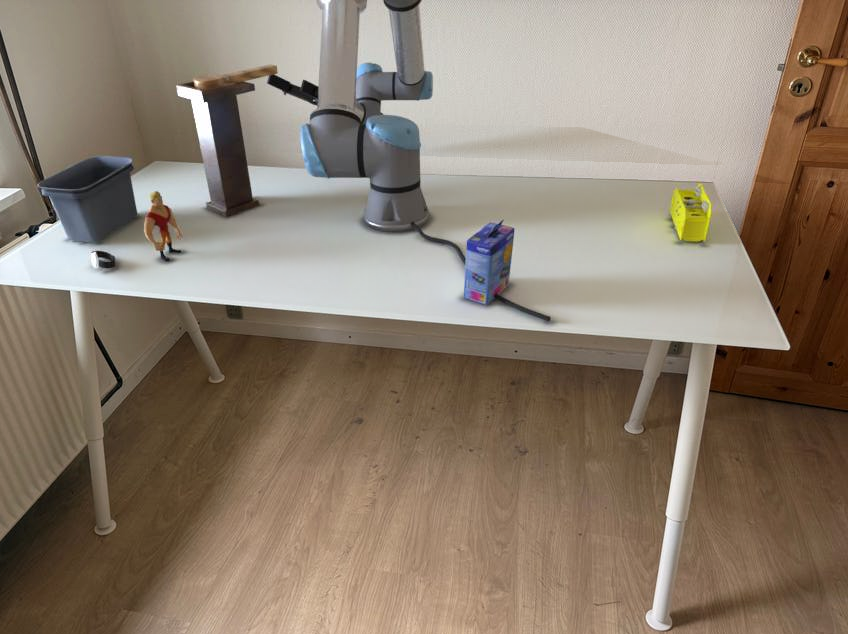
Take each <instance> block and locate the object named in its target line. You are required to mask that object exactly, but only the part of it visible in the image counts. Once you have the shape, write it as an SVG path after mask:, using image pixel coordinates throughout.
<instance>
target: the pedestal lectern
mask: <svg viewBox="0 0 848 634" xmlns="http://www.w3.org/2000/svg"><path fill="white" fill-rule="evenodd" d="M175 86H176V93H177V96H178V97H181V98H185V99H188V100H191V106H192V111H193V117H194V122H195V126H196V132H197V137H198V143H199V148H200V152H201V157H202V163H203V168H204V173H205V177H206V183H207V188H208V193H209V199H210V201H208V202H205V207H206V209H207V210H209V211H212V212H213V213H216V214H219V215H221V216H223V217H225V218H228V217H231V216H234V215H236V214H240V213H242V212H245V211H249V210H251V209H253V208H256V207H259V206H260V200H259V199H258V198H254V197H253V192H252V186H251V185H252V184H251V179H250V172H249V166H248V160H247V154H246V148H245V141H244V134H243V128H242V127H243V126H242V122H241V115H240V110H239V109H240V108H239V103H238V95H242V94H247V93H251V92H255V91H256V86H255V83H252V82H249V81H243V82H239V83H230V84H226V85H221V86H217V87H213V88H208V89H204V90H201V89H197V88H195V86H194V80H192V81H187V82H181V83H177V84H176V85H175Z"/></svg>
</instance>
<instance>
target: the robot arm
mask: <svg viewBox="0 0 848 634" xmlns="http://www.w3.org/2000/svg"><path fill="white" fill-rule="evenodd" d="M382 1H383V4H384V6H385V7H386V9H387V10H388V15H389V16H388V17H389V22H390V28H391V29H390V30H391V36H392V37H391V38H392V43H393V51H394V60H395V65H396V71H383V68H382V65H380V64H378V63H372V62H363V63H361V64H359V65H358V55H359V38H360V19H361V18H360V17H361V14H362V13H363V12H365V11H366V9H367V5H368V0H316V5H317V7H318V8H319V9H320V10H321V12H322V14H321V31H320V32H321V33H320V49H319V50H320V51H319V66H318V67H319V68H318V85H316V84H314V83H312V82H310V81H308V80H306V79H302V82H301V84H300V86H298V85H296V84H294V83H291V81H288V80H287V79H284V78H282V77H280V76H279V75H277V74H274V75H269V76H267V81H266V84H267V85H268V86H271V87H274V88H276V89H277V90H280V91H281V92H282V93H283V95H284V96H286V95H289V96H292V97H295V98H297V99H300V100H302V101H305V102H307V103H309V104H311V105H312V106H316V107H317V108H316V109H314V110H313V111H312V112H311V113H310V115H309V123H305V124H302V125H301V127H300V134H299V137H300V138H299V139H300V149H301V154H302V159H303V163H304V166H305V168H306V171H307V172H308V173H309V175H310V176H312V177H313V178H323V179H324V178H325V179H338V178H339V179H366V178H367V179H369V185H370V186H369V188H370V189H369V193H368V198H367V201H366V206H365V209H364V211H363V220H364V224H365V225H366V226H367V227H368V228H370V229H372V230H375V231H379V232H384V233H402V232H410V231H414V230H416V232H417V233H418V234H419V236H421V237H422V238H424V239H425V240H427V241H430V242H434V243H438V244H444V245H448V246H449V247H452V248H453V249H454V250H455V251H456V252H457V254H458V256H459V259H460V260H461V261H462V263H463V264H464V265H465V264H466V255H465V254H464V253H463V251H462V249H461V248H460V246H459V245H458V244H456V243H454V242H453V241H451V240H448V239H443V238H438V237H434V236H430V235H428V234H425V232H424V231H423V229H421V228H422V227H423V226H425V225H426V224H427V223H428V222H429V219H430V218H429V217H430V215H429V214H430V213H429V208H428V206H427V202H426V199H425V196H424V193H423V190H422V187H421V147H422V143H421V138H420V136H421V135H420V128H419V126H418V125H417V123H415V122H414V121H413V120H411V119H410V118H407V117H403V116H400V115H394V114H384V113H383V112H382V111H381V110H382V101H417V102H418V101H425V100H426V101H427V100H430V99H432V98H433V94H434V93H433V92H434V75H433V72H432V71H429V70H428V71H427V70H426V69H425V61H424V60H425V58H424V46H423V33H422V20H421V8H420V5H421V3H422V1H423V0H382ZM494 297H495V298H494V299H496V300H498V302H499V301H500V302H501V303H502V304H505V305H507V306H509V307H511V308H514V309H515V310H517V311H520V312H522V313H525V314H526V315H530V316H532V317H535V318H538V319H540V320H543V321H546V322H550V321H551V319H552V318H551V316H548V315H546V314H544V313H541V312H539V311H535V310H533V309H530V308H528V307H525V306H523V305H520V304H518V303H516V302H513V301H511V300H510V299H507V298H505V297H503V296H502V295H500V294H499V295H498V294H497V293H496V294H495V296H494Z"/></svg>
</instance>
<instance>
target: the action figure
mask: <svg viewBox="0 0 848 634" xmlns="http://www.w3.org/2000/svg"><path fill="white" fill-rule="evenodd" d="M148 197H149V199H150V203H151V206H150V207H149V209H148V212H147V214H146V215H145V219H144V229H143V231H144V235H145V237H146V238H147V240H148V241H149V242H150V243H151V244H152V245H153V248H154V250H155V251H157V252H159V253H160V259H161V260H162V261H164V262H170V258H169V257H167V256H166V255H165V253H164V252H165V251H166V248H165V246H166V245H167V248H168V253H169V254H173V253H177V254H181V253H182V250H181V249H175V248H173V241H172V237H171V232H170V230H169V225H170V226H171V227H172V228H173V229H174V232H175V233H176V234H177V237H176V240H182V239H183V238H184V237H183V235H182V232H181V230H180V229H179V226H178V223H177V219H176V218H175V216H174V214H173V211H172V209H171V207H169V206H168V205H167V204H166V205H165V204H164V202H163V196H162V195H161V192H160V191H159V190H156V191H154V192H151V193H150V194H149V196H148ZM155 227H158V233H159V235H160V239H161V242H160V241H156V239H155V237H154V235H153V232H154V229H155Z"/></svg>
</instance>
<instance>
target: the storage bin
mask: <svg viewBox="0 0 848 634" xmlns="http://www.w3.org/2000/svg"><path fill="white" fill-rule="evenodd" d="M133 162H134V159H133V158H131V157H126V156H125V157H124V156H112V155H111V156H109V155H97V156H92V157H89V158H86V159H83V160H81V161H79V162H77V163H75V164H72V165H70V166H69V167H67V168H65V169H63V170H60V171H59V172H57V173H55V174H53V175H51V176H49V177H47V178H45V179H43V180H41V181H39V182H38V184H37V187H38V188H40V189H41V194H42V196H45V197H49V199H50V202H51V204H52V206H53V209H54V211H55V214H56V215H57V217H58V220H59V221H60V224H61V226H62V228H63V230H64V233H65V235H66V236H67V239H68V240H70V241H75V242H83V243H92V244H94V243H95V244H96V243H99V242H102V240H104V239H106V238H107V237H108V236H110V235H112V234H113V233H115V232H116V231H118V230H119V229H121V228H122V227H123V226H125V225H126V224H129V222H131V221H133V220H134V219H136V218H137V217H138V215H139V214H138V209H137V205H136V204H137V203H136V197H135V193H134V187H133V181H132V177H131V172H133V171H134V170H135V167H134V165H133Z"/></svg>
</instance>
